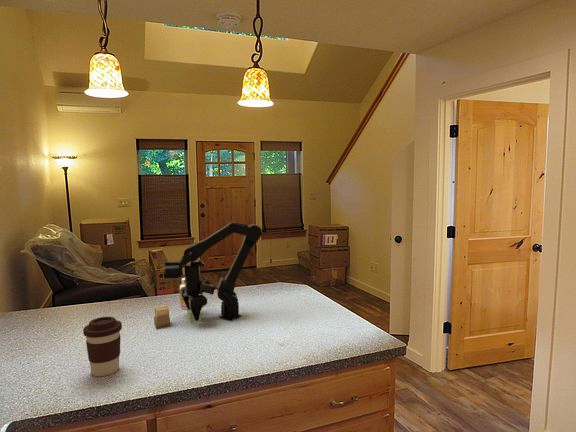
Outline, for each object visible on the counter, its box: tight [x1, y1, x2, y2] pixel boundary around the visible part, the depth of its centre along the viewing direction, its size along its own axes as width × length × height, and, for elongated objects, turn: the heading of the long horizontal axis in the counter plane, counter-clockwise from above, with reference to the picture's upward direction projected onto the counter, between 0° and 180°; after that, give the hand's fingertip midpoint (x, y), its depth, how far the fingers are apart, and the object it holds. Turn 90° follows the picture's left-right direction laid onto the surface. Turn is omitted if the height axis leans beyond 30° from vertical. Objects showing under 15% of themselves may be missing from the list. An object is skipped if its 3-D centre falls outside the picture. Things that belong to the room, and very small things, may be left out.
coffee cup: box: [82, 316, 123, 377], centre depth 110 cm, size 10×10×15 cm
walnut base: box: [153, 315, 171, 330], centre depth 146 cm, size 5×5×4 cm
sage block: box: [186, 310, 201, 324], centre depth 150 cm, size 4×4×4 cm
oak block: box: [153, 304, 170, 320], centre depth 145 cm, size 4×4×4 cm
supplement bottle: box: [179, 277, 188, 311], centre depth 166 cm, size 7×7×13 cm
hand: (194, 316), depth 150 cm, fingers open, 9 cm apart
